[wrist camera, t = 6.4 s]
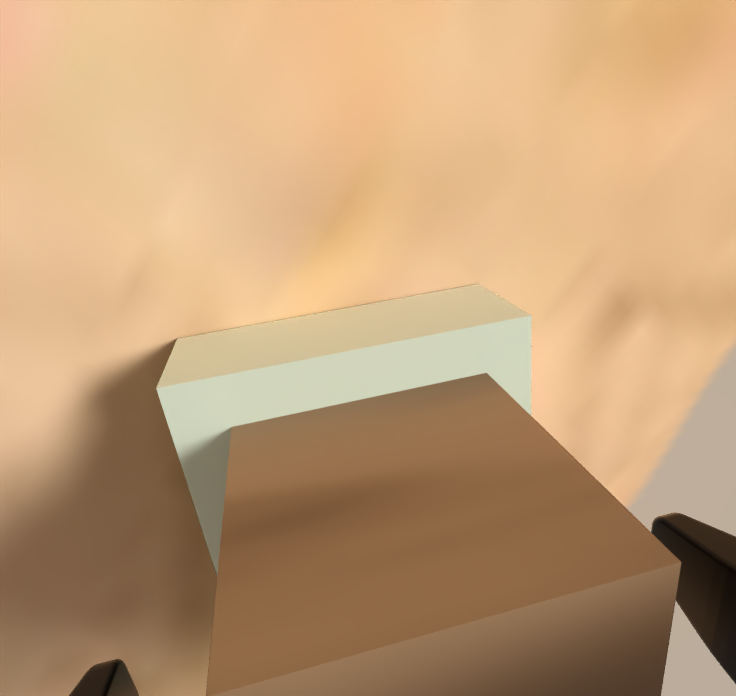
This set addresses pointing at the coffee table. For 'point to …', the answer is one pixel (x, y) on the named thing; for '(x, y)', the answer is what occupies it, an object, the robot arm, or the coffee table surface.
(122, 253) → the coffee table surface
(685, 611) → the robot arm
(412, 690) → the walnut cube
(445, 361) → the pale green block
